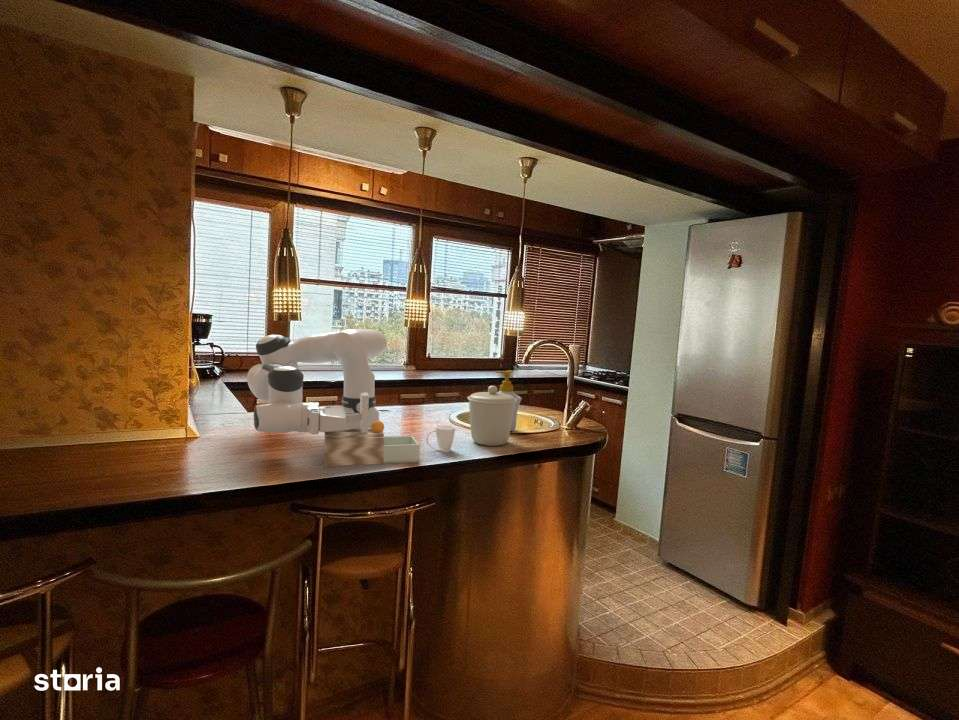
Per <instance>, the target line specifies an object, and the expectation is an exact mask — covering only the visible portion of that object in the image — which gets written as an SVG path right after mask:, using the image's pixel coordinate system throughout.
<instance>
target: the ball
mask: <svg viewBox="0 0 959 720" xmlns="http://www.w3.org/2000/svg"><path fill="white" fill-rule="evenodd" d="M384 429H385V424H384V423H383V421H381V420H379V421H378V420H377V421H374V422H373V423H372V425H371V430H372V431H373V432H374V433H381V432H382V431H383V432H384Z"/></svg>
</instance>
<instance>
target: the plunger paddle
mask: <svg viewBox="0 0 959 720" xmlns="http://www.w3.org/2000/svg"><path fill="white" fill-rule="evenodd" d="M368 407H369V395H368V393H361V396H360V415H361V420H360V429H359V431H360V434H367V433H368Z"/></svg>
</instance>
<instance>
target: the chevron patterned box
mask: <svg viewBox="0 0 959 720" xmlns="http://www.w3.org/2000/svg"><path fill="white" fill-rule="evenodd" d="M359 429H360V428H346V429H345V430H341V431H332V432H324V440H323V441H324V442H323V443H324V444H323V445H324V446H323V447H324V448H323V449H324V450H323V458H324V459H323V462H324V467H338V466H339V467H340V466H341V467H342V466H360V465H384V464H383V463H384V435H385V433H384V432H383V433H382V432H381V433H374V432H373V431H372V430H371V428H368V433H367V434H360V431H359Z"/></svg>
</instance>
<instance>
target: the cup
mask: <svg viewBox="0 0 959 720" xmlns="http://www.w3.org/2000/svg"><path fill="white" fill-rule="evenodd" d="M456 428H457V427H456V426H454V425H451V424H439V425H436V427H435V429H432V430H430V431H428V432H427V435H426V444H427V445H428V446H429V447H430V448H431V449H433V450H434V451H437V452H441V453H448V452H449V453H450V452H452V445H453V442H454V438H455V432H456ZM433 432H434V433H436V442H437V443H436V444H437V445H438V449H437V448H434V447H433V446H431V445H430V444H429V441H428V440H429V435H430V434H431V433H433Z"/></svg>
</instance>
